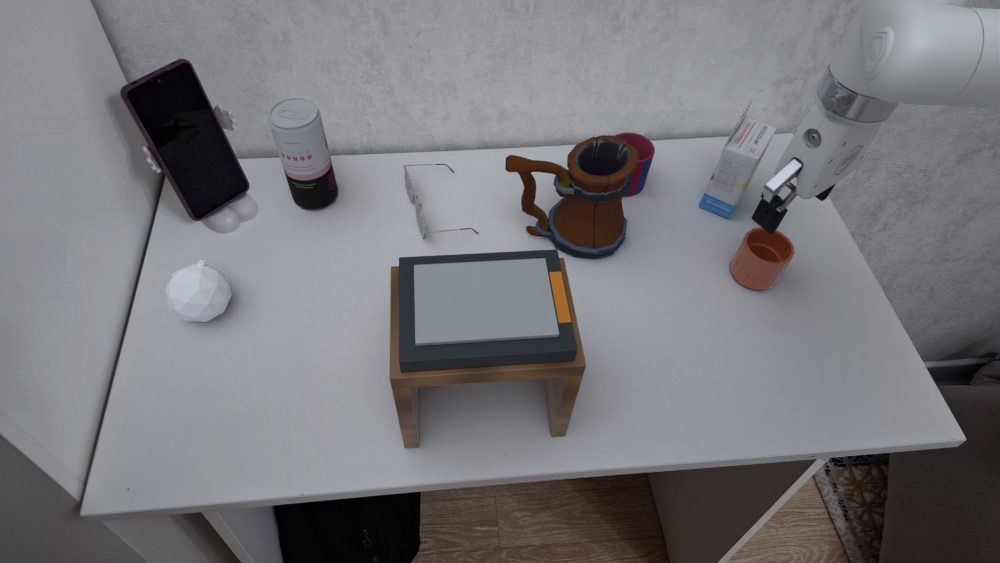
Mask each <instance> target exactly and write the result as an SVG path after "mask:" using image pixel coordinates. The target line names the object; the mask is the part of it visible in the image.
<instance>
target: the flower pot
mask: <svg viewBox="0 0 1000 563" xmlns="http://www.w3.org/2000/svg"><path fill="white" fill-rule="evenodd" d="M795 253H796V252H795V247H794V244H793V243H792V241H791V239H790V238H789V237H788V236H786V235H785V234H784V233H783V232H781V231H779V230H778V229H777V230H776V231H775V232H774V233H772V234H770V233H768V232H767V231H766V230H764V229H763V228H762V227H761V226H759V227H752V228H751V229H750V230H748V231H746V233H745V234H744V237H743V239H742V241H741V242H740V244H739V246H738V247H737V250H736V252H735V254H734V256H733V257H732V260H731V262H730V263H729V267H730V273H731V275H732V276H733V278H734V279H735V280H736V282H738V283H739V284H740V285H742V286H744V287H745V288H748V289H751V290H756V291H764V290H765V291H766V290H770V289H771V288H773V287H774V286H775V285H776V284H777V283H778V282H779V280H780V278H781V277H782V275H783V274H784V273H785V270H786V269H787V268H788V266H789V265H790V263H791V261H792V260H793V258H794V255H795Z"/></svg>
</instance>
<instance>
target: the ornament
mask: <svg viewBox="0 0 1000 563" xmlns="http://www.w3.org/2000/svg"><path fill="white" fill-rule="evenodd" d="M164 292H165V297H166V300H167V306H168V309H169V310H171V311H172V312H173V313H175V315H176V316H178V317H180V318H181V319H182V320H184V321H185V322H199V323H200V322H201V323H208V322H209V321H211V320H212V319H214V318H217V317H218V316H220V315H222V314H224V313H225V311H226V309H227V307H228V305H229V302H230V300H231V298H232V296H233V294H232V290H231V286H230V282H229V278H228V277H227V276H226V275H225V274H224V273H223V272H221V271H220V270H219V269H218V268H216V267H215V266H214V265H212V264H207V261H206V260H205V259H199V260H197V263H190V264H187V265H185V266H184V267H182V268H179V269H178V270H176V271H174V272H173V273H172V275H171V277H170V279H169V281H168V283H167V285H166V286H165V289H164Z"/></svg>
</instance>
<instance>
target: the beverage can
mask: <svg viewBox="0 0 1000 563" xmlns="http://www.w3.org/2000/svg"><path fill="white" fill-rule="evenodd" d="M267 117H268V118H267V122H268V125H269V128H270V132H271V134H272V137H273V138H272V139H273V141H274V144H275V147H276V150H277V154H278V157H279V159H280V162H281V165H282V168H283V171H284V175H285V178H286V181H287V185H288V187H289V191H290V194H291V197H292V200H293V202H294V204H296V206H298V207H299V208H302V209H304V210H308V211H309V210H310V211H316V210H317V211H318V210H321V209H325V208H327V207H329V206H330V205H331V204H333V203H334V202H335V201H336V199H337V198H338V196H339V188H338V182H337V178H336V175H335V171H334V170H335V169H334V167H333V162H332V157H331V153H330V149H329V144H328V140H327V136H326V132H325V128H324V122H323V120H322V115H321V111H320V109H319V108H318V106H317V103H315V102H314V101H313V100H311V99H309V98H306V97H301V96H300V97H299V96H294V97H287V98H283V99H281V100H278V101H277V102H275V103H274V104H273V105H271V107H270V108H269V110H268V113H267Z"/></svg>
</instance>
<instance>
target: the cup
mask: <svg viewBox="0 0 1000 563" xmlns="http://www.w3.org/2000/svg"><path fill="white" fill-rule="evenodd" d="M614 136H618V137H620V138H622V139H624V140H627V142H628V143H629V144H630V145H633V146H635V148H636V149H637V151H638V152H639V154H640V155H639V164H638V165H637V168H636V169H635V170H634V172H633V173H632V174H631V176H630V177H629V185H628V186H627V187H626V188H625V190H624V191H623V196H622V197H633V196H635V195H638V194H640V193H641V192H642V191H643V190H644V188H645V185H646V182H647V179H648V176H649V172H650V169H651V165H652V162H653V160H654V155H655V152H656V150H655V149H656V148H655V145H654V144H653V142H652V141H651V140H650V139H649V138H647V137H645V136H644V135H642V134H639V133H636V132H621V133H618V134H615V135H614Z"/></svg>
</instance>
